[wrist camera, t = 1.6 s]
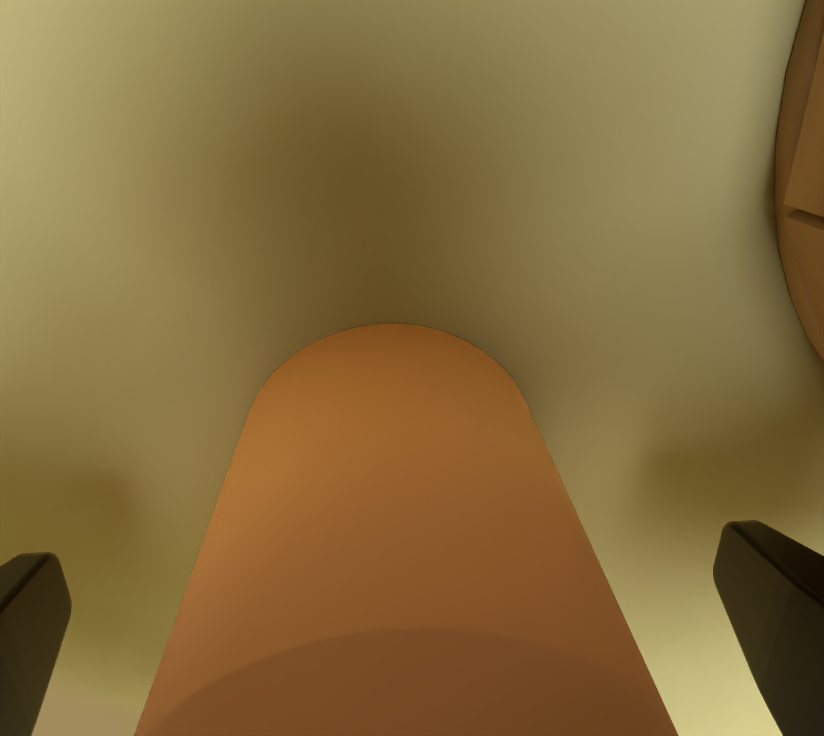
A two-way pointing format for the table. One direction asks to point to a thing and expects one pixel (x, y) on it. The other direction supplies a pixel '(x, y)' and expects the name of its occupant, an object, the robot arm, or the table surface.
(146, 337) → the table surface
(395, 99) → the table surface
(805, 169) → the round tray
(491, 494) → the cylinder
